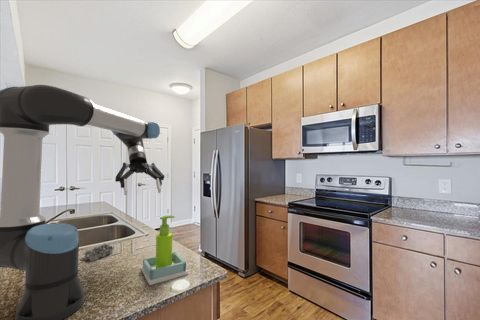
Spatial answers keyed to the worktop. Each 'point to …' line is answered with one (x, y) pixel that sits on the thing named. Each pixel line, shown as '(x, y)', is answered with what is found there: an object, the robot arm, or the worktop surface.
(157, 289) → the worktop surface
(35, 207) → the robot arm
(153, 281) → the cradle
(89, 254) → the egg carton
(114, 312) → the worktop surface
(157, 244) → the soap dispenser
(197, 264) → the worktop surface
